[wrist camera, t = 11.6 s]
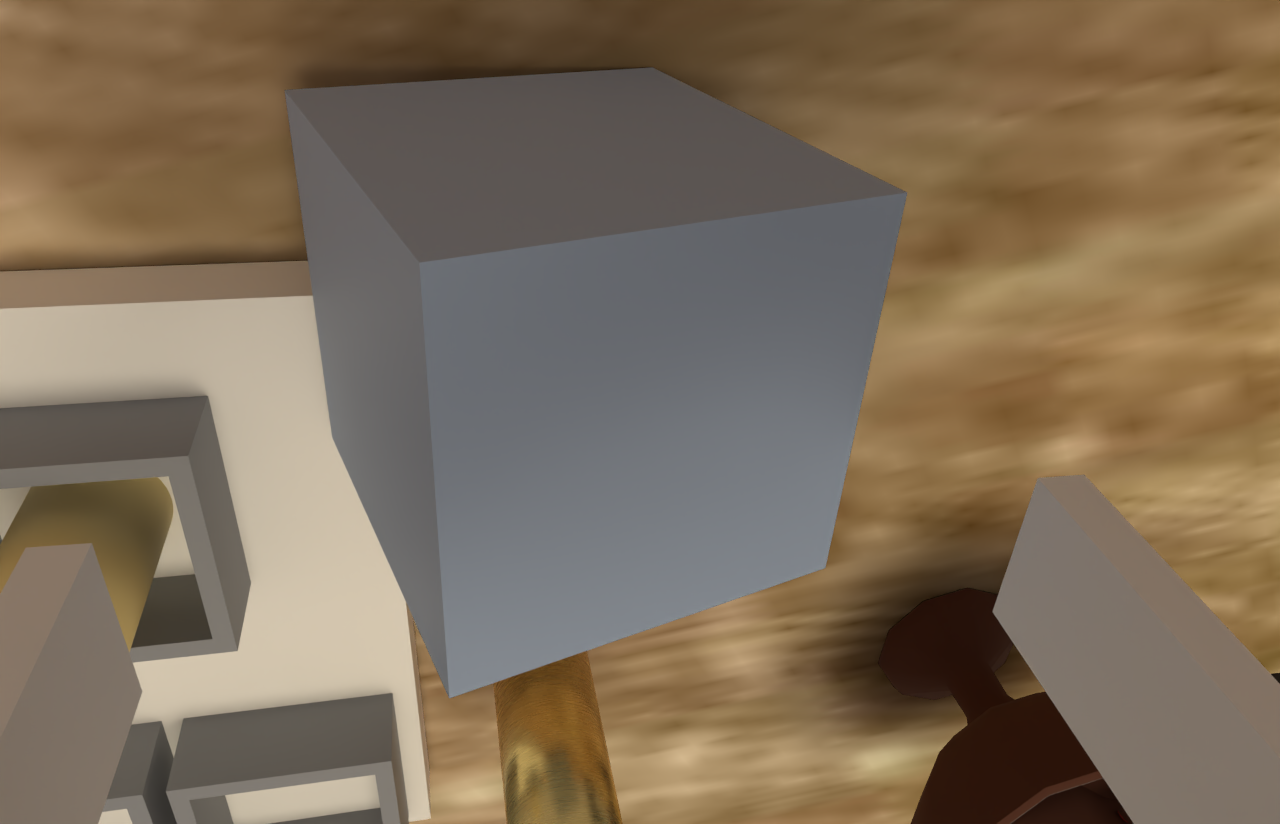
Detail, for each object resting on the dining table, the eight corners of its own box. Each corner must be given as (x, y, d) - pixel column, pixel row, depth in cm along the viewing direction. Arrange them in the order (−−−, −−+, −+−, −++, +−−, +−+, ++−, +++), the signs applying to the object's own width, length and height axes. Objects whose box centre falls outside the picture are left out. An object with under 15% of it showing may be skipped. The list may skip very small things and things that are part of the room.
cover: (284, 89, 19) (418, 262, 12) (652, 67, 23) (907, 192, 16) (332, 437, 24) (449, 698, 17) (632, 372, 27) (825, 568, 21)
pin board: (-282, 281, 21) (-653, 547, 14) (372, 258, 24) (357, 470, 16) (1, 828, 32) (-121, 1142, 24) (429, 769, 35) (435, 1036, 27)
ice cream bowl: (753, 683, 36) (936, 1155, 23) (981, 483, 32) (1333, 910, 20) (918, 767, 41) (1138, 1189, 29) (1129, 602, 38) (1480, 999, 25)
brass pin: (488, 621, 31) (517, 917, 23) (585, 610, 32) (646, 895, 24) (492, 687, 33) (520, 985, 25) (584, 676, 34) (640, 963, 25)
